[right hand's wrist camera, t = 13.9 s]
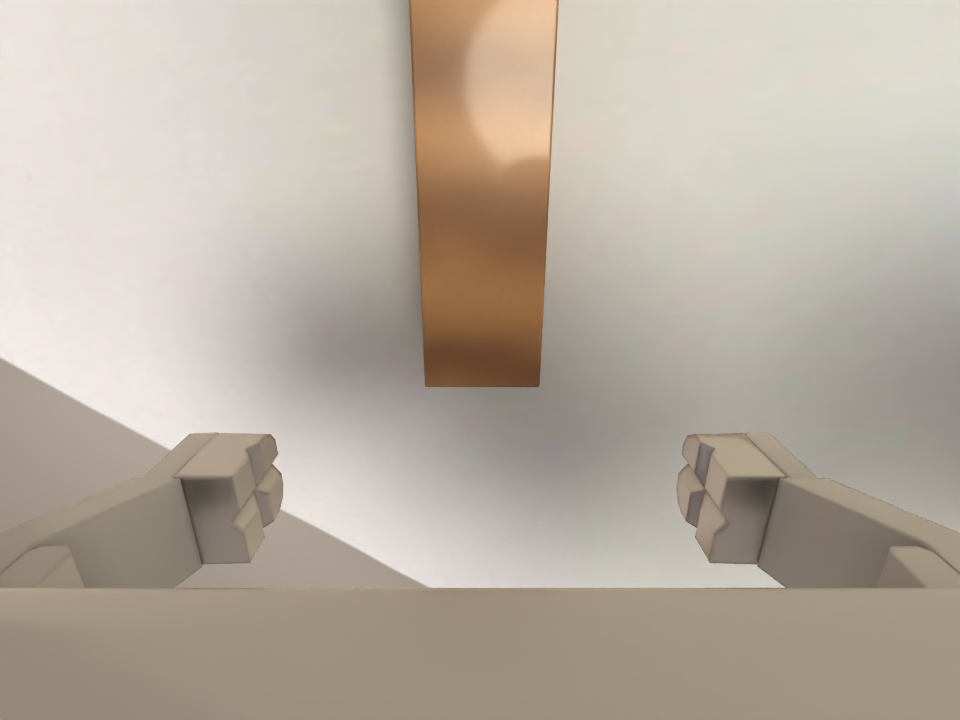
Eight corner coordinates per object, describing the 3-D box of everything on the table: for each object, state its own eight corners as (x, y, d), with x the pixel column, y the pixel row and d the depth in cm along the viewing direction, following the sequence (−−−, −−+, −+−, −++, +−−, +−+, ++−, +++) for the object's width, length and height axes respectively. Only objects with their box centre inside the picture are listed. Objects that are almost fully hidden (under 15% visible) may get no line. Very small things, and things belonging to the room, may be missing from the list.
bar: (524, 329, 33) (539, 387, 24) (439, 329, 33) (424, 387, 24) (543, -186, 23) (577, -375, 15) (424, -186, 23) (393, -375, 15)
